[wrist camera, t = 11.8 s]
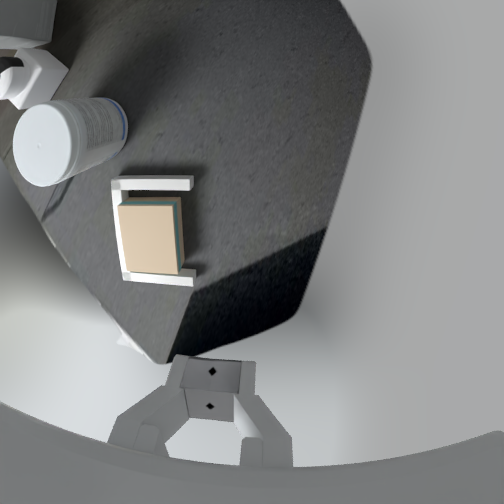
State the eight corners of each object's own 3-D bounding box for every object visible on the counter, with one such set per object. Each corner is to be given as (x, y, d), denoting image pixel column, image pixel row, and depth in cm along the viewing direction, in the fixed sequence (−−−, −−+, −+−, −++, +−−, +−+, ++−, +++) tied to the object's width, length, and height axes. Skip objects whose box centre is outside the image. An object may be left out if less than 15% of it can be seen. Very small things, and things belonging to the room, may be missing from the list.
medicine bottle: (25, 85, 34) (-26, 89, 24) (46, 49, 32) (-4, 44, 21) (47, 107, 36) (-5, 114, 26) (70, 69, 34) (19, 66, 23)
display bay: (118, 175, 41) (110, 179, 39) (193, 175, 41) (189, 179, 39) (129, 272, 48) (123, 280, 46) (196, 277, 48) (193, 286, 46)
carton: (129, 196, 43) (116, 205, 39) (181, 196, 43) (172, 205, 39) (137, 257, 47) (126, 271, 43) (185, 260, 47) (178, 274, 43)
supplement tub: (90, 89, 36) (24, 89, 22) (141, 111, 37) (85, 115, 24) (68, 147, 39) (4, 169, 26) (115, 172, 41) (58, 202, 28)
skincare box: (31, 10, 28) (-32, -2, 14) (62, -2, 28) (-1, -22, 14) (24, 53, 32) (-43, 51, 17) (55, 43, 32) (-15, 34, 17)
